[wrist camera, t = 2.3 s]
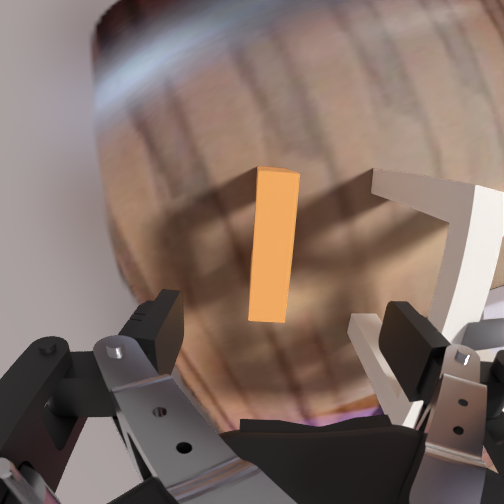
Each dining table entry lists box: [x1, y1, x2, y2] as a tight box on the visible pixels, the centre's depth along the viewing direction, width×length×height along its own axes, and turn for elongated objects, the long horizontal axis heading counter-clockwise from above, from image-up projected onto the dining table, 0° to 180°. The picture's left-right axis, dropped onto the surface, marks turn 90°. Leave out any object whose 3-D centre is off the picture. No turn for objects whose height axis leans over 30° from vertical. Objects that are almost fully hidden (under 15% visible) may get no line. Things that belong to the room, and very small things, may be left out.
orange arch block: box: [248, 166, 300, 323], centre depth 25 cm, size 10×2×10 cm, turn 176°
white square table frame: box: [347, 168, 504, 428], centre depth 23 cm, size 18×14×17 cm
